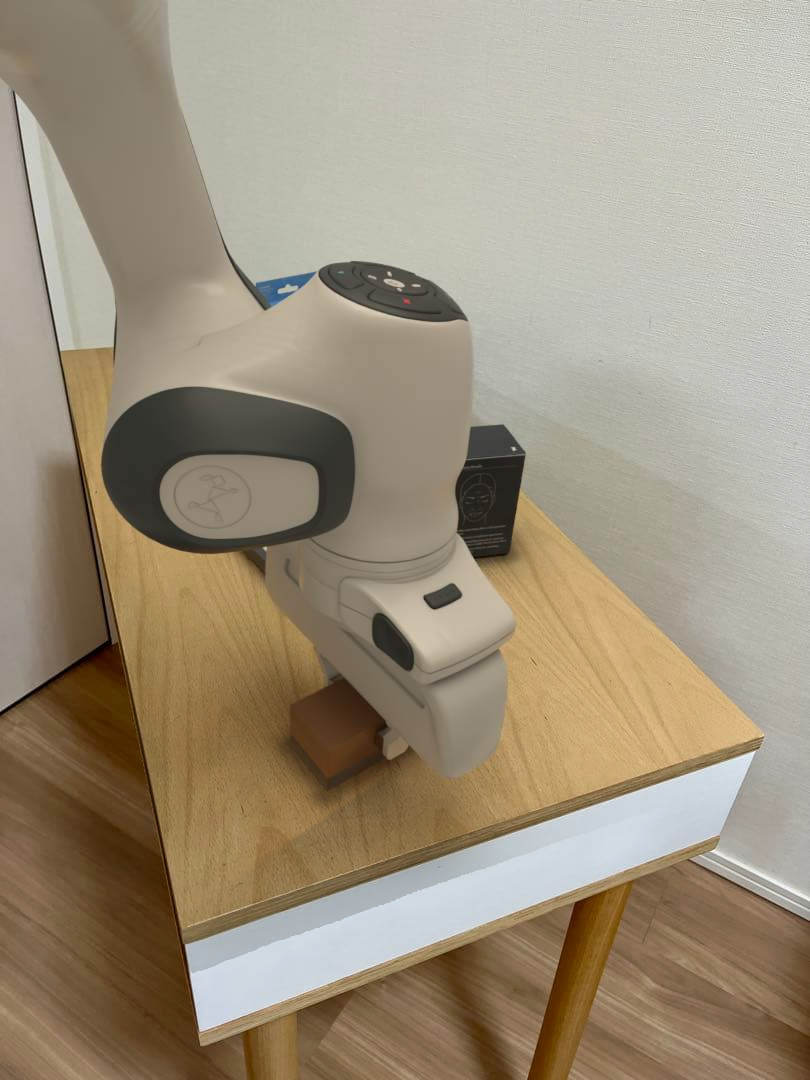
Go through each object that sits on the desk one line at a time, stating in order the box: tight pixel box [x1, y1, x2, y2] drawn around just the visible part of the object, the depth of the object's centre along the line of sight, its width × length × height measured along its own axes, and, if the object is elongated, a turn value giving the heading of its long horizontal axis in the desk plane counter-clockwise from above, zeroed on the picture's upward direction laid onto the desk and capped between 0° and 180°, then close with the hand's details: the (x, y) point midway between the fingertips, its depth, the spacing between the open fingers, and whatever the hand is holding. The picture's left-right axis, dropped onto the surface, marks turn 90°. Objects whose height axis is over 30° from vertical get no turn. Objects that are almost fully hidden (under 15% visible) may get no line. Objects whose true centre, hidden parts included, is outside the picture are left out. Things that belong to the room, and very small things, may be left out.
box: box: [455, 423, 527, 558], centre depth 72 cm, size 8×6×11 cm
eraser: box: [289, 678, 387, 791], centre depth 55 cm, size 9×4×4 cm, turn 128°
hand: (365, 720), depth 55 cm, fingers closed on eraser, 4 cm apart
